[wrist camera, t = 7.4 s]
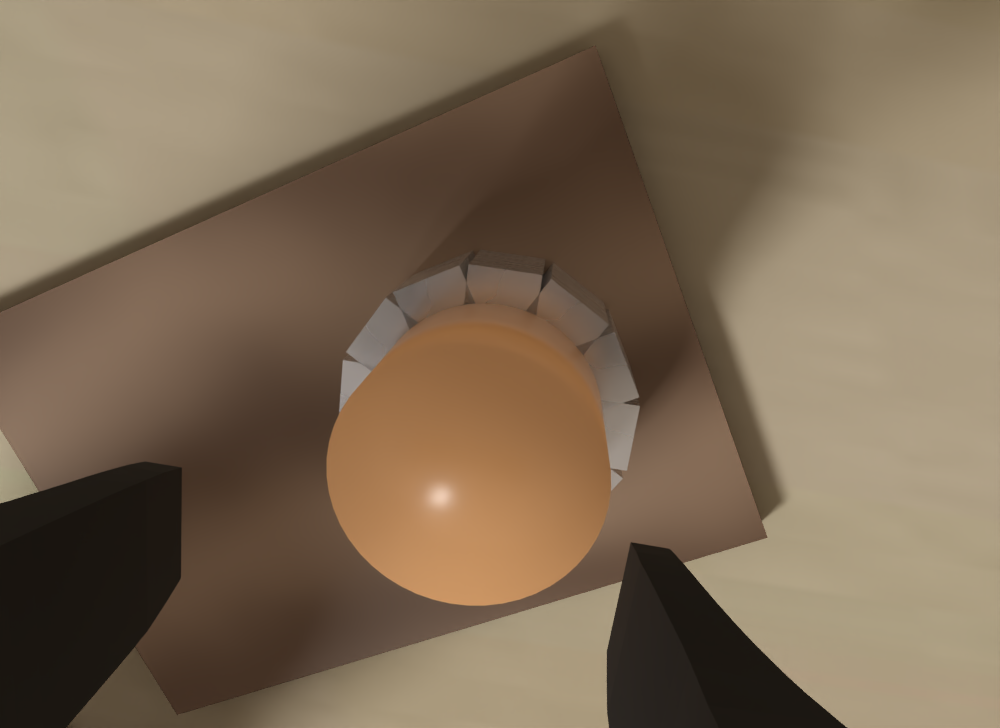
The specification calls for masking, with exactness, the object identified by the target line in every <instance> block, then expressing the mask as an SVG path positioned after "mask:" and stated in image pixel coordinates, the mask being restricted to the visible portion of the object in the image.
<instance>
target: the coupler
mask: <svg viewBox="0 0 1000 728" xmlns="http://www.w3.org/2000/svg"><path fill="white" fill-rule="evenodd" d="M327 483H328V490H329V495H330V498H331V502H332V506H333V509H334V511H335V514H336V516H337V518H338V521H339V523H340V525H341V527H342V529H343V530H344V532H345V534H346V535H347V537H348V539H349V540H350V542H351V543H352V544H353V545H354V547H355V548H356V549H357V551H358V552H359V553H360V554H361V555H362V556H363V557H364V558H365V559H366V560H367V561H368V562H369V563H370V564H371V565H372V566H373V567H374V568H375V569H376V570H378V571H379V572H380V573H381V574H383V575H384V576H385V577H387V578H388V579H390V580H391V581H393V582H395V583H396V584H398V585H399V586H401V587H403V588H405V589H407V590H409V591H412V592H414V593H416V594H418V595H421V596H424V597H427V598H430V599H433V600H437V601H441V602H446V603H450V604H458V605H467V606H486V605H495V604H503V603H507V602H511V601H516V600H520V599H522V598H525V597H528V596H531V595H533V594H536V593H538V592H540V591H542V590H544V589H546V588H548V587H550V586H551V585H553V584H554V583H556V582H557V581H559V580H560V579H562V578H563V577H564V576H566V575H567V574H568V573H569V572H570V571H571V570H572V569H573V568H575V567H576V566H577V565H578V564H579V562H580V561H581V560H582V559H583V558H584V557H585V555H586V554H587V553H588V552H589V550H590V549H591V547H592V545H593V544H594V542H595V541H596V539H597V537H598V535H599V533H600V531H601V528H602V526H603V524H604V521H605V518H606V514H607V511H608V507H609V501H610V493H611V469H610V461H609V454H608V447H607V439H606V432H605V425H604V418H603V410H602V404H601V397H600V392H599V388H598V385H597V382H596V379H595V376H594V374H593V372H592V370H591V368H590V366H589V364H588V362H587V361H586V359H585V358H584V356H583V354H582V353H581V351H580V350H579V349H578V348H577V347H576V346H575V344H574V343H573V342H572V341H571V340H570V339H569V338H568V337H567V336H566V335H565V334H564V333H562V332H561V331H560V330H559V329H558V328H556V327H555V326H553V325H552V324H550V323H549V322H548V321H546V320H544V319H542V318H540V317H538V316H536V315H534V314H532V313H530V312H527V311H524V310H521V309H519V308H515V307H510V306H506V305H500V304H489V303H480V304H467V305H461V306H455V307H452V308H449V309H446V310H442V311H440V312H437V313H435V314H433V315H431V316H429V317H427V318H425V319H424V320H422V321H421V322H419V323H417V324H416V325H414V326H413V327H412V328H411V329H410V330H408V331H407V332H406V333H405V334H404V335H403V336H402V337H401V338H400V339H399V340H398V341H397V343H396V344H395V345H394V346H393V347H392V348H391V349H390V351H389V352H388V353H387V354H386V355H385V356H384V357H383V359H382V360H381V361H380V362H379V363H378V364H377V366H376V367H375V368H374V369H373V370H372V371H371V372H370V374H369V375H368V376H367V377H366V378H365V379H364V381H363V382H362V383H361V384H360V385H359V386H358V387H357V389H356V390H355V391H354V392H353V393H352V394H351V396H350V397H349V399H348V400H347V402H346V403H345V405H344V406H343V408H342V409H341V411H340V413H339V416H338V418H337V420H336V422H335V424H334V427H333V430H332V433H331V437H330V440H329V445H328V452H327Z"/></svg>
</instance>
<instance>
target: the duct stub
mask: <svg viewBox="0 0 1000 728" xmlns="http://www.w3.org/2000/svg"><path fill="white" fill-rule="evenodd" d="M544 265H545V259H543V258H536V257H529V256H523V255H516V254H509V253H502V252H495V251H488V250H482V249H481V250H480V251H479V252H478V254H477V255H476V256H475V255H474V252H473V250H472V251H470V252H468V253H465V254H463V255H460V256H458V257H455V258H453V259H450V260H448V261H445V262H443V263H440V264H438V265H436V266H433V267H431V268H428V269H426V270H423V271H421V272H418V273H416V274H414V275H413V276H411V277H410V278H409V279H407V280H406V281H405V282H404V283H403V284H401V285H400V286H399V287H398V288H397V289H395V290H394V291H393V292H392V293H391V294H389V295H388V296H387V297H386V298H385V299H384V301H383V302H382V303H381V305H380V306H379V307H378V309H377V310H376V312H375V313H374V314H373V316H372V317H371V318H370V320H369V321H368V322H367V324H366V325H365V327H364V328H363V329H362V331H361V332H360V333H359V335H358V336H357V337H356V339H355V340H354V342H353V343H352V344H351V346H350V347H349V348H348V350H347V351H346V353H348V354H349V355H348V356H347V357H346V358H345V359H343V365H342V379H341V393H340V407H339V413H340V411H341V409H342V408H343V406H344V405H345V403H346V402H347V400H348V399H349V397H350V396H351V394H352V393H353V392H354V391H355V390H356V389H357V387H358V386H359V385H360V384H361V383H362V382H363V381H364V379H365V378H366V377H367V376H368V375H369V374H370V372H371V371H372V370H373V369H374V368H375V367H376V366H377V364H378V363H379V362H380V361H381V360H382V359H383V357H384V356H385V355H386V354H387V353H388V352H389V351H390V349H391V348H392V347H393V346H394V345H395V344H396V343H397V341H398V340H399V339H400V338H401V337H402V336H403V335H404V334H405V333H406V332H407V331H408V330H410V329H411V328H412V327H413V326H414V325H416V324H417V323H419V322H421V321H422V320H424V319H425V318H427V317H429V316H431V315H433V314H435V313H437V312H440V311H442V310H446V309H449V308H452V307H455V306H461V305H467V304H480V303H489V304H500V305H506V306H510V307H515V308H519V309H521V310H524V311H527V312H530V313H532V314H534V315H536V316H538V317H540V318H542V319H544V320H546V321H548V322H549V323H550V324H552V325H553V326H555V327H556V328H558V329H559V330H560V331H561V332H562V333H564V334H565V335H566V336H567V337H568V338H569V339H570V340H571V341H572V342H573V343H574V344H575V346H576V347H577V348H578V349H579V350H580V351H581V353H582V354H583V356H584V358H585V359H586V361H587V362H588V364H589V366H590V368H591V370H592V372H593V374H594V376H595V379H596V382H597V385H598V388H599V392H600V397H601V404H602V410H603V418H604V425H605V432H606V439H607V447H608V454H609V461H610V469H611V491H612V489H613V488H614V487H615V486H616V485H617V484H618V483H619V482H620V481H621V480H622V479H623V476H622V470H625V471H627V468H628V463H629V458H630V453H631V448H632V443H633V438H634V433H635V428H636V423H637V419H638V414H639V409H640V404H639V401H638V398H639V395H638V391H637V388H636V384H635V381H634V377H633V374H632V370H631V367H630V364H629V362H628V359H627V356H626V354H625V351H624V348H623V346H622V343H621V340H620V338H619V335H618V333H617V330H616V327H615V325H614V322H613V319H612V317H611V314H610V311H609V309H607V310H605V305H604V302H603V301H601V300H600V299H599V298H598V297H596V296H595V295H594V294H593V293H591V292H590V291H589V290H588V289H586V288H585V287H584V286H583V285H581V284H580V283H579V282H578V281H576V280H575V279H574V278H572V277H571V276H570V275H569V274H567V273H566V272H565V271H564V270H562V269H561V268H560V267H559V266H557V265H556V264H555V263H554V262H553V263H552V264H551V266H550V267H549V268H548V269H547V271H546V272H545V273H544V274H543V272H544Z"/></svg>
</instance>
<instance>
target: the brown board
mask: <svg viewBox="0 0 1000 728" xmlns="http://www.w3.org/2000/svg"><path fill="white" fill-rule="evenodd" d="M481 249H482V250H488V251H495V252H502V253H509V254H516V255H523V256H529V257H536V258H543V259H545V265H544V272H543V274H544V273H545V272H546V271H547V269H548V268H549V267H550V266H551V264H552V263H553V262H554V263H555V264H556V265H557V266H559V267H560V268H561V269H562V270H564V271H565V272H566V273H567V274H569V275H570V276H571V277H572V278H574V279H575V280H576V281H578V282H579V283H580V284H581V285H583V286H584V287H585V288H586V289H588V290H589V291H590V292H591V293H593V294H594V295H595V296H596V297H598V298H599V299H600V300H601V301H603V302H604V305H605V310H607V309H609V311H610V314H611V317H612V319H613V322H614V325H615V327H616V330H617V333H618V335H619V338H620V340H621V343H622V346H623V348H624V351H625V354H626V356H627V359H628V362H629V364H630V367H631V370H632V374H633V377H634V381H635V384H636V388H637V391H638V395H639V398H638V401H639V404H640V409H639V414H638V419H637V423H636V428H635V433H634V438H633V443H632V448H631V453H630V458H629V463H628V468H627V471H625V470H622V476H623V479H622V480H621V481H620V482H619V483H618V484H617V485H616V486H615V487H614V488H613V489H612V491H611V493H610V501H609V507H608V511H607V514H606V518H605V521H604V524H603V526H602V528H601V531H600V533H599V535H598V537H597V539H596V541H595V542H594V544H593V545H592V547H591V549H590V550H589V552H588V553H587V554H586V555H585V557H584V558H583V559H582V560H581V561H580V562H579V564H578V565H577V566H576V567H575V568H573V569H572V570H571V571H570V572H569V573H568V574H567V575H566V576H564V577H563V578H562V579H560V580H559V581H557V582H556V583H554V584H553V585H551V586H550V587H548V588H546V589H544V590H542V591H540V592H538V593H536V594H533V595H531V596H528V597H525V598H522V599H520V600H516V601H511V602H507V603H503V604H495V605H486V606H467V605H458V604H450V603H446V602H441V601H437V600H433V599H430V598H427V597H424V596H421V595H418V594H416V593H414V592H412V591H409V590H407V589H405V588H403V587H401V586H399V585H398V584H396V583H395V582H393V581H391V580H390V579H388V578H387V577H385V576H384V575H383V574H381V573H380V572H379V571H378V570H376V569H375V568H374V567H373V566H372V565H371V564H370V563H369V562H368V561H367V560H366V559H365V558H364V557H363V556H362V555H361V554H360V553H359V552H358V551H357V549H356V548H355V547H354V545H353V544H352V543H351V542H350V540H349V539H348V537H347V535H346V534H345V532H344V530H343V529H342V527H341V525H340V523H339V521H338V518H337V516H336V514H335V511H334V509H333V506H332V502H331V498H330V495H329V490H328V483H327V452H328V445H329V440H330V437H331V433H332V430H333V427H334V424H335V422H336V420H337V418H338V416H339V407H340V393H341V379H342V365H343V359H345V358H346V357H347V356H348V355H349V354H348V353H346V351H347V350H348V348H349V347H350V346H351V344H352V343H353V342H354V340H355V339H356V337H357V336H358V335H359V333H360V332H361V331H362V329H363V328H364V327H365V325H366V324H367V322H368V321H369V320H370V318H371V317H372V316H373V314H374V313H375V312H376V310H377V309H378V307H379V306H380V305H381V303H382V302H383V301H384V299H385V298H386V297H387V296H388V295H389V294H391V293H392V292H393V291H394V290H395V289H397V288H398V287H399V286H400V285H401V284H403V283H404V282H405V281H406V280H407V279H409V278H410V277H411V276H413V275H414V274H416V273H418V272H421V271H423V270H426V269H428V268H431V267H433V266H436V265H438V264H440V263H443V262H445V261H448V260H450V259H453V258H455V257H458V256H460V255H463V254H465V253H468V252H470V251H472V250H473V252H474V255H475V256H476V255H477V254H478V252H479V251H480V250H481ZM0 429H1V431H2V432H3V434H4V436H5V437H6V439H7V440H8V442H9V444H10V445H11V447H12V448H13V450H14V452H15V453H16V455H17V457H18V458H19V460H20V461H21V463H22V465H23V466H24V468H25V470H26V471H27V473H28V474H29V476H30V478H31V479H32V481H33V482H34V484H35V486H36V487H37V489H38V491H39V492H40V491H43V490H46V489H49V488H52V487H56V486H59V485H62V484H65V483H68V482H71V481H75V480H78V479H81V478H84V477H87V476H91V475H94V474H97V473H100V472H104V471H107V470H111V469H114V468H118V467H121V466H125V465H129V464H134V463H139V462H145V461H146V462H152V463H158V464H164V465H170V466H176V467H182V523H181V579H180V581H179V582H178V584H177V586H176V587H175V589H174V591H173V592H172V594H171V595H170V597H169V599H168V600H167V602H166V604H165V605H164V607H163V608H162V610H161V611H160V613H159V614H158V616H157V618H156V619H155V621H154V622H153V624H152V625H151V627H150V628H149V630H148V631H147V632H146V634H145V635H144V636H143V637H142V638H141V640H140V641H139V642H138V643H137V645H136V646H135V647H136V649H137V651H138V652H139V654H140V656H141V657H142V659H143V660H144V662H145V664H146V665H147V667H148V668H149V670H150V672H151V673H152V675H153V677H154V678H155V680H156V681H157V683H158V685H159V686H160V688H161V690H162V691H163V693H164V694H165V696H166V698H167V699H168V701H169V702H170V704H171V706H172V707H173V709H174V711H175V712H176V714H177V715H178V714H181V713H185V712H188V711H191V710H195V709H198V708H201V707H205V706H208V705H211V704H215V703H218V702H221V701H224V700H228V699H231V698H234V697H238V696H241V695H244V694H248V693H251V692H254V691H258V690H261V689H264V688H268V687H271V686H274V685H278V684H281V683H284V682H288V681H291V680H294V679H298V678H301V677H304V676H308V675H311V674H314V673H318V672H321V671H324V670H328V669H331V668H334V667H338V666H341V665H344V664H348V663H351V662H354V661H358V660H361V659H364V658H368V657H371V656H374V655H378V654H381V653H384V652H388V651H391V650H394V649H398V648H401V647H404V646H408V645H411V644H414V643H418V642H421V641H424V640H428V639H431V638H434V637H438V636H441V635H444V634H448V633H451V632H454V631H458V630H461V629H464V628H468V627H471V626H474V625H478V624H481V623H484V622H488V621H491V620H494V619H498V618H501V617H504V616H508V615H511V614H514V613H518V612H521V611H524V610H528V609H531V608H534V607H538V606H541V605H544V604H548V603H551V602H554V601H558V600H561V599H564V598H568V597H571V596H574V595H578V594H581V593H584V592H588V591H591V590H594V589H598V588H601V587H604V586H608V585H611V584H614V583H618V582H621V581H622V580H623V575H624V571H625V566H626V562H627V557H628V552H629V548H630V543H631V542H633V543H639V544H645V545H651V546H657V547H663V548H669V549H671V550H672V551H673V552H674V553H675V555H676V556H677V557H678V558H679V559H680V560H681V561H682V563H684V562H688V561H691V560H694V559H698V558H701V557H704V556H708V555H711V554H714V553H718V552H721V551H724V550H728V549H731V548H734V547H738V546H741V545H744V544H748V543H751V542H754V541H758V540H761V539H764V538H767V535H766V532H765V529H764V526H763V524H762V521H761V518H760V515H759V512H758V509H757V506H756V504H755V501H754V498H753V495H752V492H751V489H750V486H749V484H748V481H747V478H746V475H745V472H744V469H743V466H742V464H741V461H740V458H739V455H738V452H737V449H736V446H735V443H734V441H733V438H732V435H731V432H730V429H729V426H728V423H727V421H726V418H725V415H724V412H723V409H722V406H721V403H720V401H719V398H718V395H717V392H716V389H715V386H714V383H713V381H712V378H711V375H710V372H709V369H708V366H707V363H706V361H705V358H704V355H703V352H702V349H701V346H700V343H699V341H698V338H697V335H696V332H695V329H694V326H693V323H692V320H691V318H690V315H689V312H688V309H687V306H686V303H685V300H684V298H683V295H682V292H681V289H680V286H679V283H678V280H677V278H676V275H675V272H674V269H673V266H672V263H671V260H670V258H669V255H668V252H667V249H666V246H665V243H664V240H663V238H662V235H661V232H660V229H659V226H658V223H657V220H656V217H655V215H654V212H653V209H652V206H651V203H650V200H649V197H648V195H647V192H646V189H645V186H644V183H643V180H642V177H641V175H640V172H639V169H638V166H637V163H636V160H635V157H634V155H633V152H632V149H631V146H630V143H629V140H628V137H627V135H626V132H625V129H624V126H623V123H622V120H621V117H620V115H619V112H618V109H617V106H616V103H615V100H614V97H613V94H612V92H611V89H610V86H609V83H608V80H607V77H606V74H605V72H604V69H603V66H602V63H601V60H600V57H599V54H598V52H597V49H596V46H593V47H591V48H589V49H586V50H584V51H582V52H580V53H578V54H575V55H573V56H571V57H569V58H566V59H564V60H562V61H560V62H557V63H555V64H553V65H551V66H549V67H546V68H544V69H542V70H540V71H537V72H535V73H533V74H531V75H528V76H526V77H524V78H522V79H520V80H517V81H515V82H513V83H511V84H508V85H506V86H504V87H502V88H499V89H497V90H495V91H493V92H491V93H488V94H486V95H484V96H482V97H479V98H477V99H475V100H473V101H470V102H468V103H466V104H464V105H462V106H459V107H457V108H455V109H453V110H450V111H448V112H446V113H444V114H441V115H439V116H437V117H435V118H433V119H430V120H428V121H426V122H424V123H421V124H419V125H417V126H415V127H412V128H410V129H408V130H406V131H403V132H401V133H399V134H397V135H395V136H392V137H390V138H388V139H386V140H383V141H381V142H379V143H377V144H374V145H372V146H370V147H368V148H366V149H363V150H361V151H359V152H357V153H354V154H352V155H350V156H348V157H345V158H343V159H341V160H339V161H337V162H334V163H332V164H330V165H328V166H325V167H323V168H321V169H319V170H316V171H314V172H312V173H310V174H308V175H305V176H303V177H301V178H299V179H296V180H294V181H292V182H290V183H287V184H285V185H283V186H281V187H279V188H276V189H274V190H272V191H270V192H267V193H265V194H263V195H261V196H258V197H256V198H254V199H252V200H250V201H247V202H245V203H243V204H241V205H238V206H236V207H234V208H232V209H229V210H227V211H225V212H223V213H221V214H218V215H216V216H214V217H212V218H209V219H207V220H205V221H203V222H200V223H198V224H196V225H194V226H192V227H189V228H187V229H185V230H183V231H180V232H178V233H176V234H174V235H171V236H169V237H167V238H165V239H162V240H160V241H158V242H156V243H154V244H151V245H149V246H147V247H145V248H142V249H140V250H138V251H136V252H133V253H131V254H129V255H127V256H125V257H122V258H120V259H118V260H116V261H113V262H111V263H109V264H107V265H104V266H102V267H100V268H98V269H96V270H93V271H91V272H89V273H87V274H84V275H82V276H80V277H78V278H75V279H73V280H71V281H69V282H67V283H64V284H62V285H60V286H58V287H55V288H53V289H51V290H49V291H46V292H44V293H42V294H40V295H38V296H35V297H33V298H31V299H29V300H26V301H24V302H22V303H20V304H17V305H15V306H13V307H11V308H9V309H6V310H4V311H2V312H0Z"/></svg>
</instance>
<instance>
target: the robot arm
mask: <svg viewBox="0 0 1000 728" xmlns="http://www.w3.org/2000/svg"><path fill="white" fill-rule="evenodd" d="M181 523H182V467H176V466H170V465H164V464H158V463H152V462H146V461H145V462H139V463H134V464H129V465H125V466H121V467H118V468H114V469H111V470H107V471H104V472H100V473H97V474H94V475H91V476H87V477H84V478H81V479H78V480H75V481H71V482H68V483H65V484H62V485H59V486H56V487H52V488H49V489H46V490H43V491H40V492H37V493H34V494H30V495H27V496H24V497H21V498H18V499H14V500H11V501H8V502H4V503H1V504H0V728H66V727H67V726H68V725H69V723H70V722H71V721H72V720H73V719H74V718H75V716H76V715H77V714H78V713H79V712H80V711H81V709H82V708H83V707H84V706H85V705H86V704H87V702H88V701H89V700H90V699H91V698H92V697H93V695H94V694H95V693H96V692H97V691H98V690H99V688H100V687H101V686H102V685H103V684H104V683H105V681H106V680H107V679H108V678H109V677H110V676H111V674H112V673H113V672H114V671H115V670H116V668H117V667H118V666H119V665H120V664H121V663H122V661H123V660H124V659H125V658H126V657H127V655H128V654H129V653H130V652H131V651H132V649H133V648H134V647H135V646H136V645H137V643H138V642H139V641H140V640H141V638H142V637H143V636H144V635H145V634H146V632H147V631H148V630H149V628H150V627H151V625H152V624H153V622H154V621H155V619H156V618H157V616H158V614H159V613H160V611H161V610H162V608H163V607H164V605H165V604H166V602H167V600H168V599H169V597H170V595H171V594H172V592H173V591H174V589H175V587H176V586H177V584H178V582H179V581H180V579H181ZM607 713H608V722H609V728H847V727H845V726H844V725H843V724H842V723H841V722H839V721H838V720H837V719H836V718H835V717H833V716H832V715H831V714H830V713H829V712H827V711H826V710H825V709H824V708H823V707H822V706H820V705H819V704H818V703H817V702H816V701H814V700H813V699H812V698H811V697H810V696H809V695H807V694H806V693H805V692H804V691H803V690H802V689H801V688H799V687H798V686H797V685H796V684H795V683H794V682H793V681H792V680H791V679H790V678H788V677H787V676H786V675H785V674H784V673H783V672H782V671H781V670H780V669H779V668H778V667H777V666H776V665H775V664H774V663H773V662H772V661H771V660H770V659H769V658H768V657H767V656H766V655H765V654H764V653H763V652H762V651H761V650H760V649H759V648H758V647H757V646H756V645H755V644H754V643H753V642H752V641H751V640H750V639H749V638H748V637H747V636H746V635H745V634H744V633H743V631H742V630H741V629H740V628H739V627H738V626H737V625H736V624H735V623H734V622H733V621H732V620H731V618H730V617H729V616H728V615H727V614H726V613H725V612H724V611H723V609H722V608H721V607H720V606H719V605H718V604H717V603H716V601H715V600H714V599H713V598H712V597H711V596H710V595H709V593H708V592H707V591H706V590H705V589H704V587H703V586H702V585H701V584H700V583H699V582H698V580H697V579H696V578H695V577H694V576H693V574H692V573H691V572H690V571H689V570H688V569H687V567H686V566H685V565H684V564H683V563H682V561H681V560H680V559H679V558H678V557H677V556H676V555H675V553H674V552H673V551H672V550H671V549H669V548H663V547H657V546H651V545H645V544H639V543H633V542H631V543H630V548H629V552H628V557H627V562H626V566H625V571H624V575H623V580H622V585H621V589H620V594H619V599H618V603H617V608H616V612H615V617H614V622H613V626H612V631H611V636H610V640H609V645H608V649H607Z"/></svg>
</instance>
